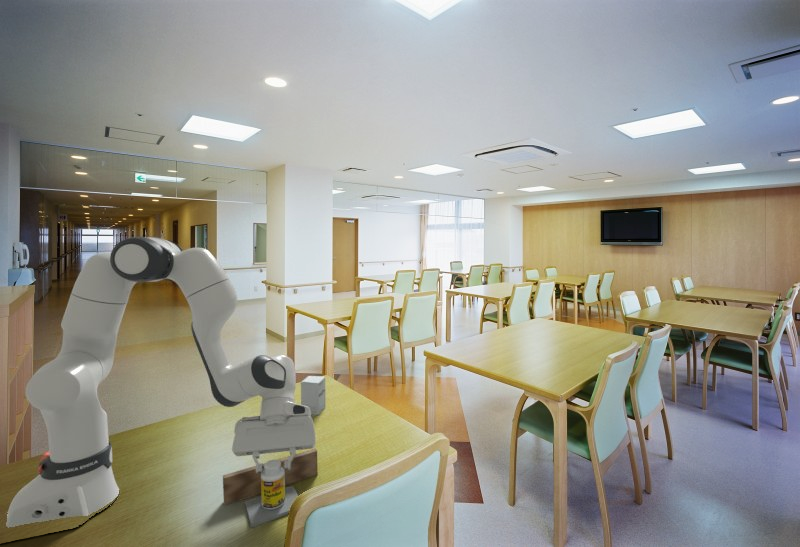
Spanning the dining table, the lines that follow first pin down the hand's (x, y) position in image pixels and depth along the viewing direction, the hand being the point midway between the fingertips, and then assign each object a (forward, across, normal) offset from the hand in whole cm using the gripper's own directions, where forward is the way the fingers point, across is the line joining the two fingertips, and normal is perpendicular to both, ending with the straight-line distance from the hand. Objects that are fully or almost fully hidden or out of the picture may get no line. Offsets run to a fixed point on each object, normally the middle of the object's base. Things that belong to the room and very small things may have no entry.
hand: (273, 470), depth 91 cm
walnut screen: (+1, -1, +13) cm, 13 cm away
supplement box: (-31, +8, +45) cm, 55 cm away
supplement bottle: (+6, 0, +7) cm, 9 cm away
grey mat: (+6, 0, +7) cm, 10 cm away
